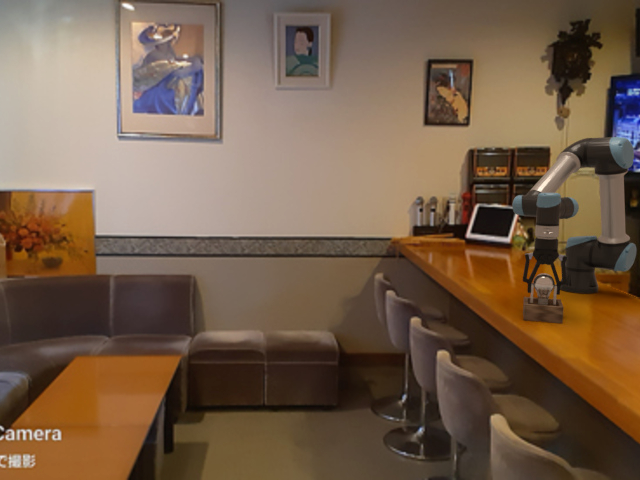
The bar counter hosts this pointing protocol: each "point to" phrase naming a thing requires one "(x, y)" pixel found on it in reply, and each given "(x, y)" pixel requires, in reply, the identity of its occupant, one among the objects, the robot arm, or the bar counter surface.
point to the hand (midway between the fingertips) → (542, 302)
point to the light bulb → (543, 287)
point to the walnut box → (543, 311)
